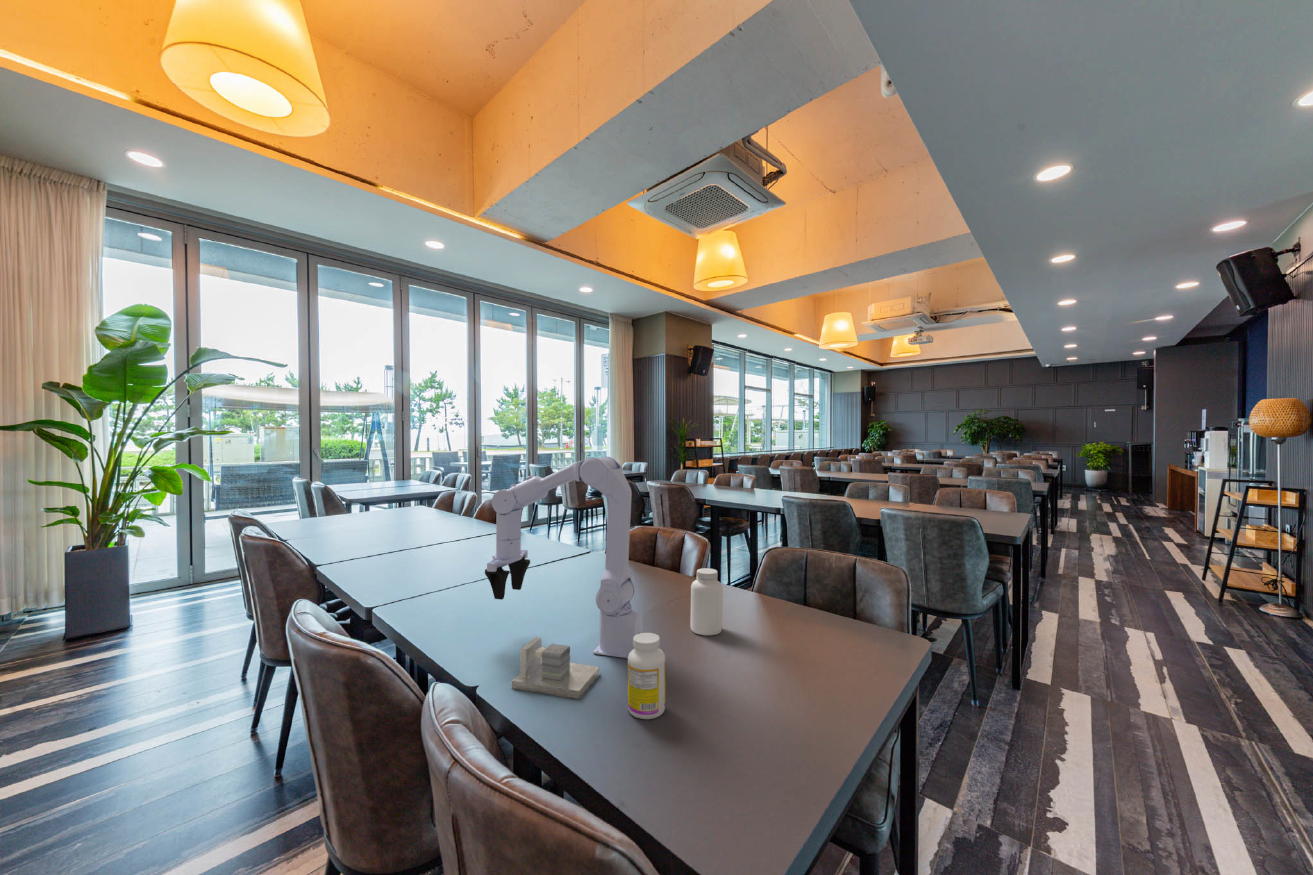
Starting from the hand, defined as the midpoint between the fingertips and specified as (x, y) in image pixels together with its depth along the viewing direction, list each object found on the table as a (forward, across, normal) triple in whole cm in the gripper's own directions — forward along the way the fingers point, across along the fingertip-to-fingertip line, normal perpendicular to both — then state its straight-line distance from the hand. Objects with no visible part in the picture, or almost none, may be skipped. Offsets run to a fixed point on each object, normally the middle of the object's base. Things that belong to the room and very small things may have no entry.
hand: (508, 593), depth 118 cm
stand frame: (+10, +17, +22) cm, 30 cm away
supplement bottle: (+10, +22, +42) cm, 49 cm away
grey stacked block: (+8, +18, +22) cm, 29 cm away
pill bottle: (+10, -17, +46) cm, 50 cm away
